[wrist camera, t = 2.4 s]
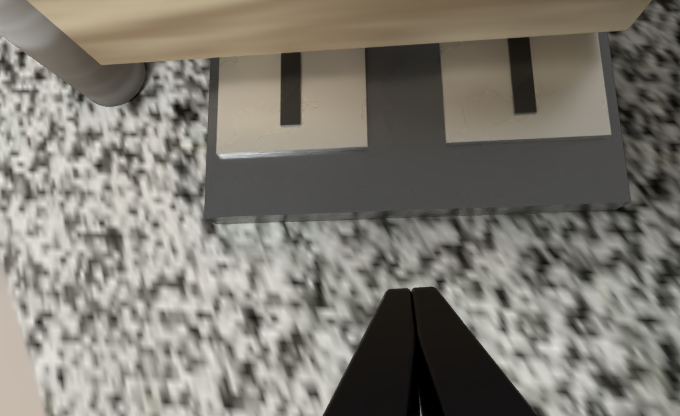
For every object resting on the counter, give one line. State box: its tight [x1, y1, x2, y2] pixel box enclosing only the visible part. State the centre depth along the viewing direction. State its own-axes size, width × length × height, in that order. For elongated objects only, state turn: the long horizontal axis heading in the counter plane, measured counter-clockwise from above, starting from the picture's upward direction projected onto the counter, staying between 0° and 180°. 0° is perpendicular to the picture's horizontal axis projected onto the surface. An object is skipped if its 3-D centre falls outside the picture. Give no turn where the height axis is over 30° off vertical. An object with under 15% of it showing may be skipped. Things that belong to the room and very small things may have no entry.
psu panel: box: [204, 32, 631, 224], centre depth 21 cm, size 12×16×2 cm
